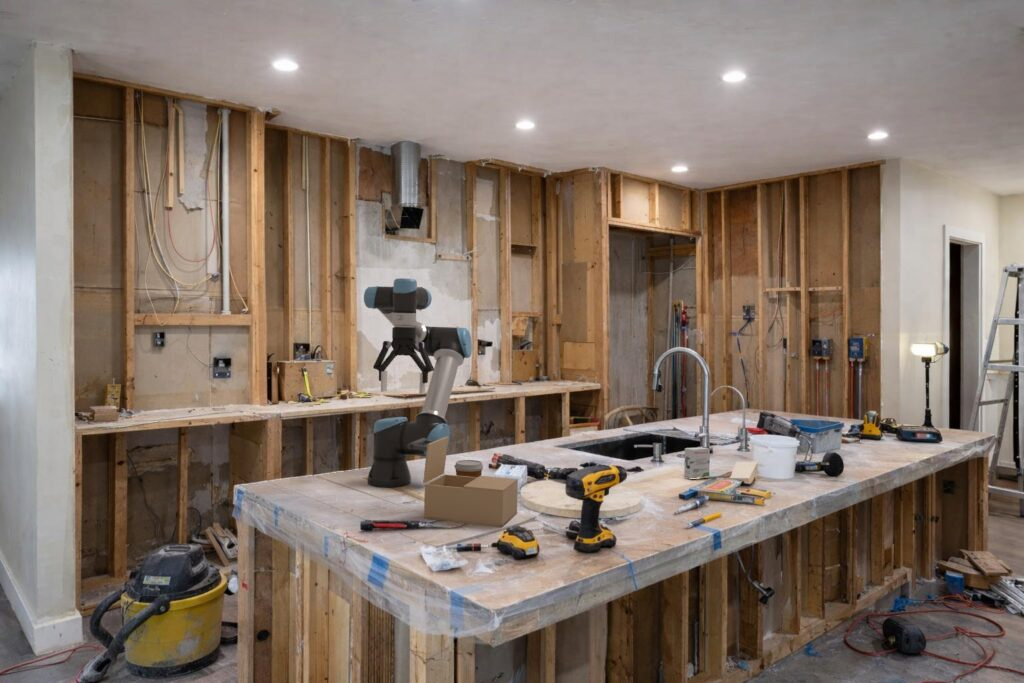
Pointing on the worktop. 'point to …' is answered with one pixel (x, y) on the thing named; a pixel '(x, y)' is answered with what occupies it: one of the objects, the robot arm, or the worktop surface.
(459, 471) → the disposable coffee cup
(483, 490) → the carton
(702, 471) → the ink box
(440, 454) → the flap
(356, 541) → the worktop surface
